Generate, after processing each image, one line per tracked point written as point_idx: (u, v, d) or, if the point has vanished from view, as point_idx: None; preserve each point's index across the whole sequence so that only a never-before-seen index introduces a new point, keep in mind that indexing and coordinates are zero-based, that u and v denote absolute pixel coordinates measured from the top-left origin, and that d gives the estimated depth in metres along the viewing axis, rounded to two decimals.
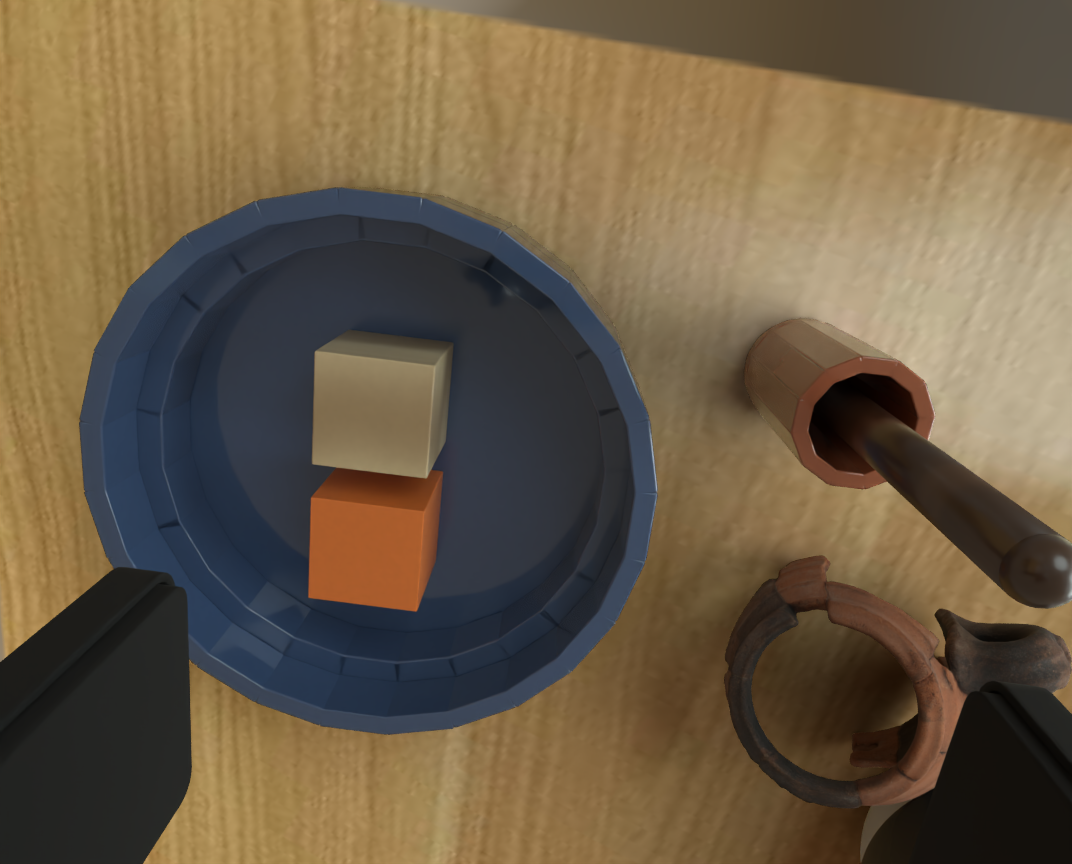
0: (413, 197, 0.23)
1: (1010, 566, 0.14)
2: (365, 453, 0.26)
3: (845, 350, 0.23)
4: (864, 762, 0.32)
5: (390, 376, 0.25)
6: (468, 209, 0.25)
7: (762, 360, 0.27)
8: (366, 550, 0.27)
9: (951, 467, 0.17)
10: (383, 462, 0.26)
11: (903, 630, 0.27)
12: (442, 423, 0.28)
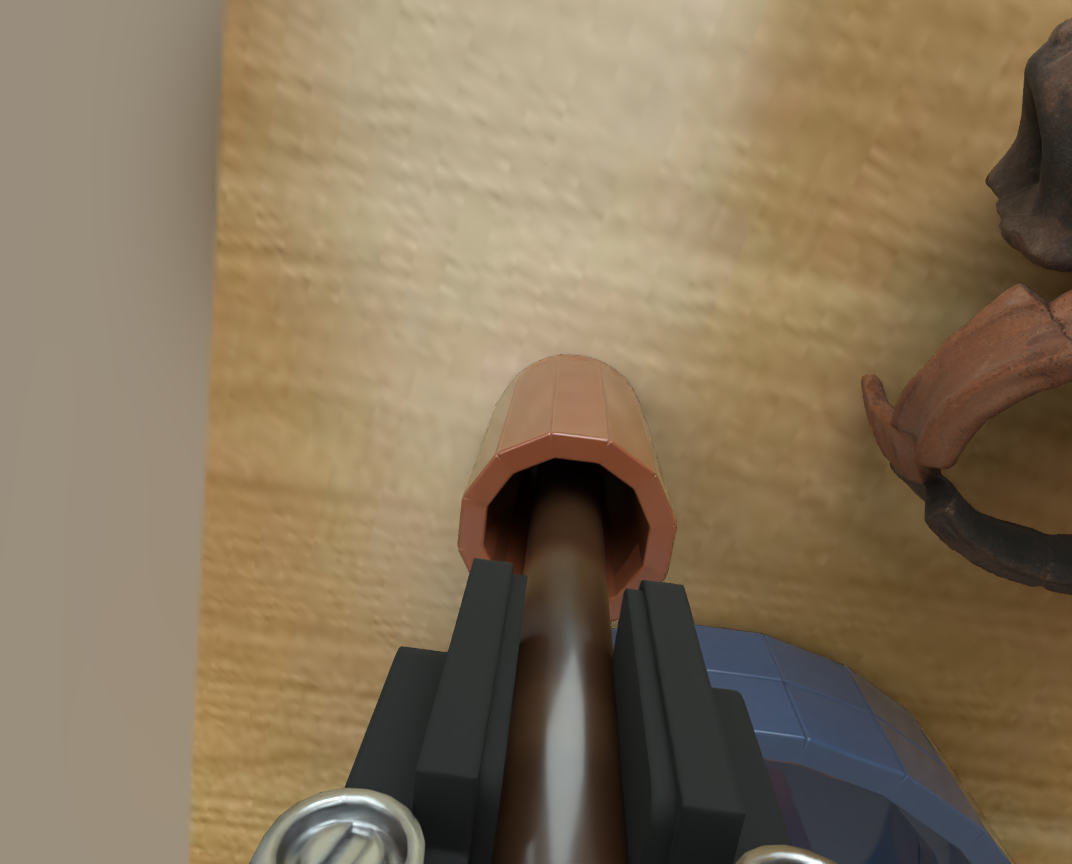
0: None
1: None
2: None
3: None
4: None
5: None
6: None
7: None
8: None
9: None
10: None
11: (985, 356, 0.15)
12: None
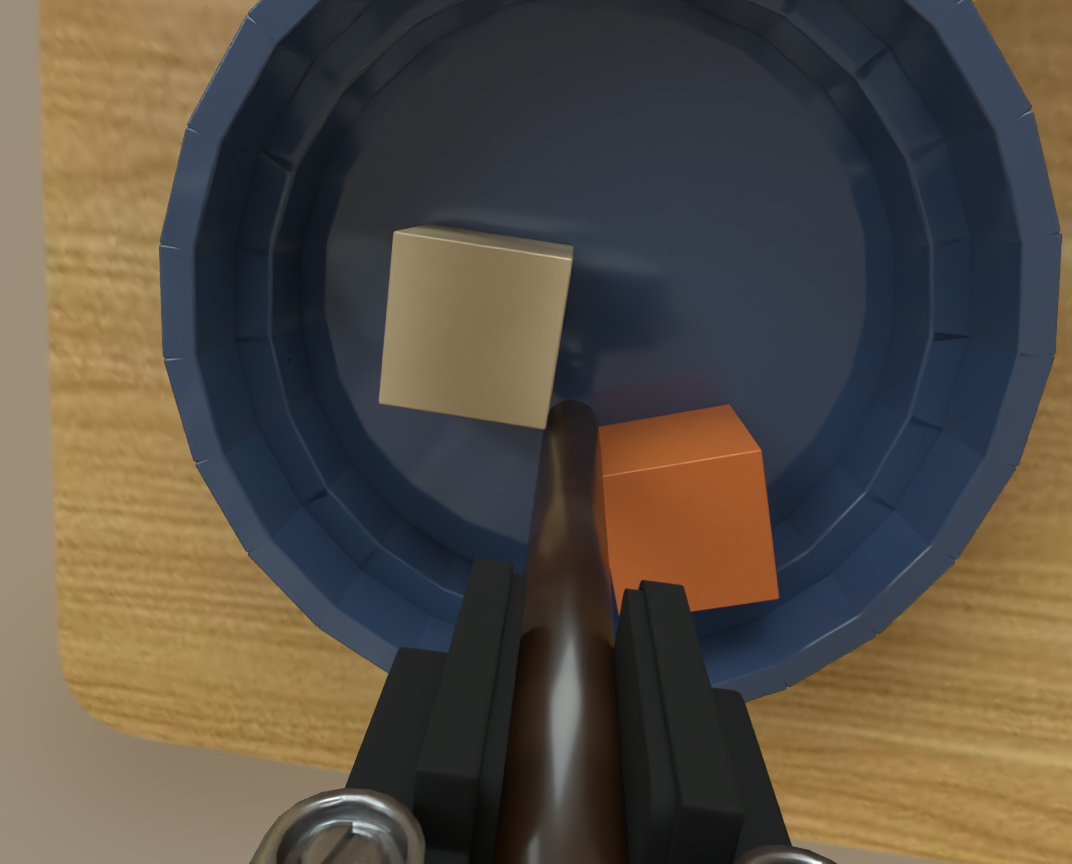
0: (160, 256, 0.17)
1: None
2: (529, 349, 0.17)
3: None
4: None
5: (410, 299, 0.17)
6: None
7: None
8: (677, 539, 0.19)
9: None
10: (544, 324, 0.17)
11: None
12: (527, 242, 0.19)
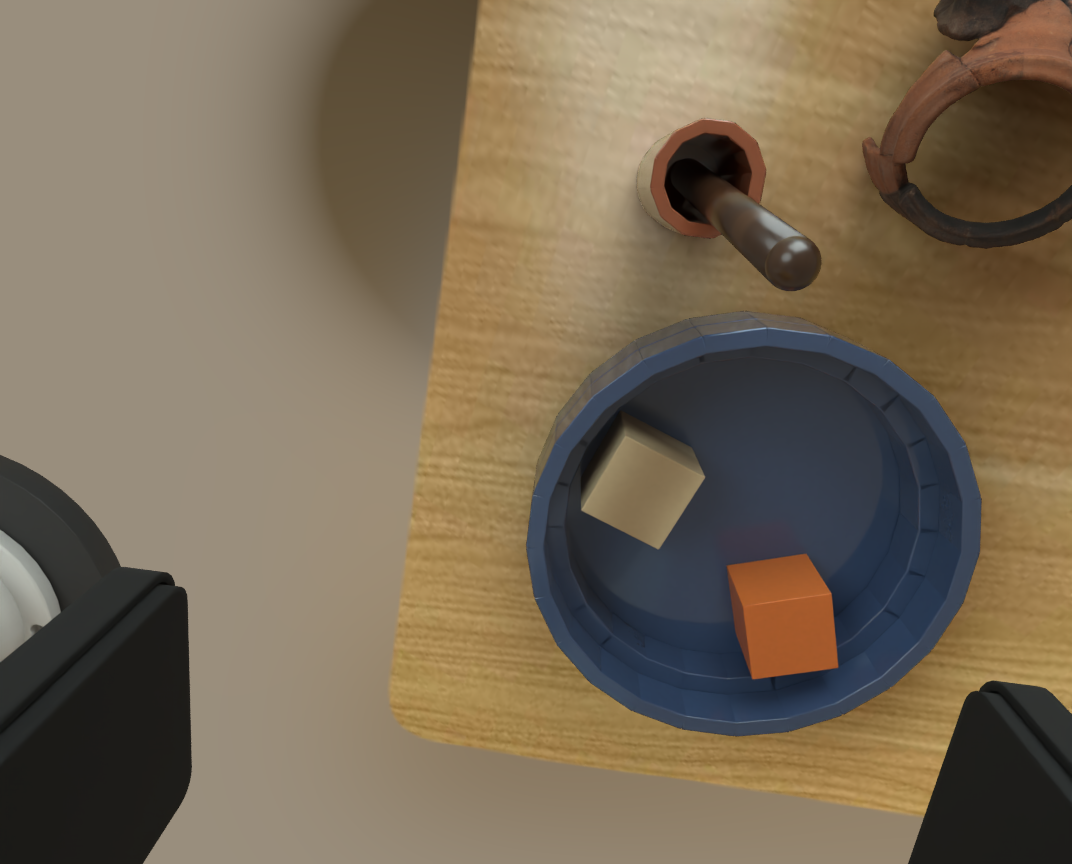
0: (532, 500, 0.34)
1: (786, 289, 0.20)
2: (667, 510, 0.34)
3: (648, 191, 0.28)
4: None
5: (619, 468, 0.33)
6: (544, 453, 0.35)
7: (666, 227, 0.32)
8: (785, 637, 0.35)
9: (733, 237, 0.23)
10: (679, 501, 0.34)
11: (928, 90, 0.28)
12: (674, 445, 0.36)
